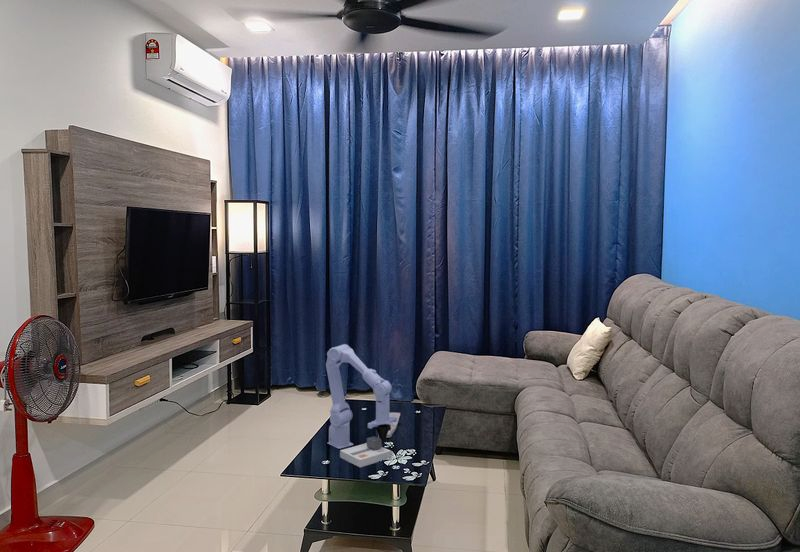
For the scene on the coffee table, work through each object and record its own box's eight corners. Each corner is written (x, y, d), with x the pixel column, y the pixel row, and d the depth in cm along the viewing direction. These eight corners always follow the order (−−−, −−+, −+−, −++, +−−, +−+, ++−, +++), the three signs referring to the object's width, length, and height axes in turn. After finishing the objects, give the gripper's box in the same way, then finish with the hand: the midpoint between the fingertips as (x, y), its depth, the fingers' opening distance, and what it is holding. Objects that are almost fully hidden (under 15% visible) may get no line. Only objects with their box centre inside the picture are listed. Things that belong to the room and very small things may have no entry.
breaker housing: (370, 448, 250) (370, 441, 250) (391, 457, 240) (391, 450, 240) (339, 457, 240) (339, 449, 240) (360, 467, 229) (360, 459, 229)
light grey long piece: (401, 412, 285) (388, 428, 260) (401, 424, 285) (388, 441, 261) (389, 411, 286) (375, 427, 262) (389, 423, 286) (375, 440, 262)
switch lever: (374, 444, 246) (374, 436, 246) (381, 447, 242) (381, 439, 242) (366, 446, 243) (366, 438, 243) (374, 449, 239) (374, 441, 239)
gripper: (375, 415, 237) (375, 447, 238) (401, 408, 247) (401, 440, 247) (364, 411, 242) (364, 443, 243) (391, 405, 252) (391, 435, 253)
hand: (382, 441), depth 246 cm, fingers closed
